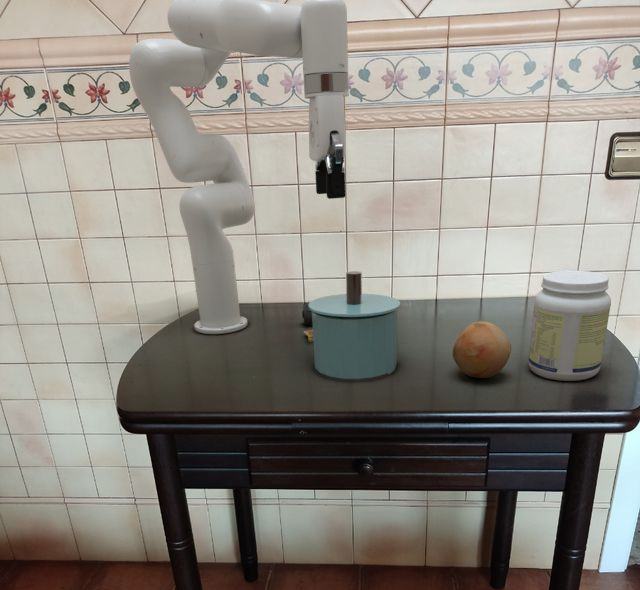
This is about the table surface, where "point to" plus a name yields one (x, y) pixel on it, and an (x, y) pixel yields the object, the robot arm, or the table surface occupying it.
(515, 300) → the table surface
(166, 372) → the table surface
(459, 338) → the onion
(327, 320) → the pot
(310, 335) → the shard
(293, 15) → the robot arm
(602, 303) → the supplement tub
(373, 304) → the lid
